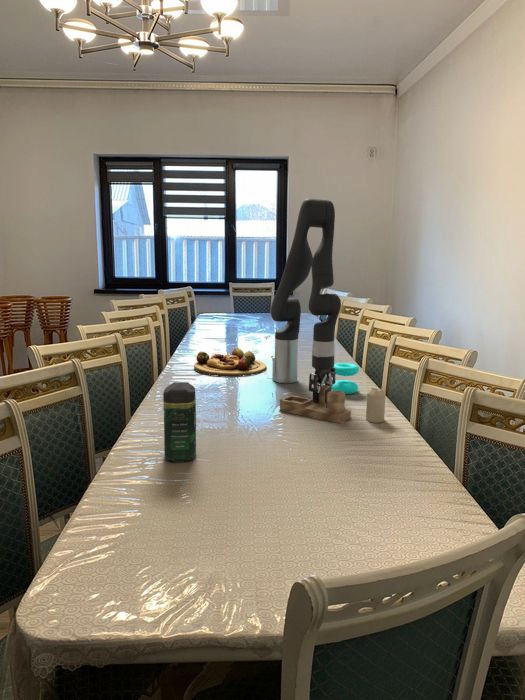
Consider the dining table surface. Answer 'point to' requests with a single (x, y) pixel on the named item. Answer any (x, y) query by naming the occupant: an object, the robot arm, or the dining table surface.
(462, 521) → the dining table surface
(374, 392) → the candle
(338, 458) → the dining table surface
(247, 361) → the wooden plate with food
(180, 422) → the coffee jar
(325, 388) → the brown wooden block
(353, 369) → the donuts
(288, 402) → the rail
